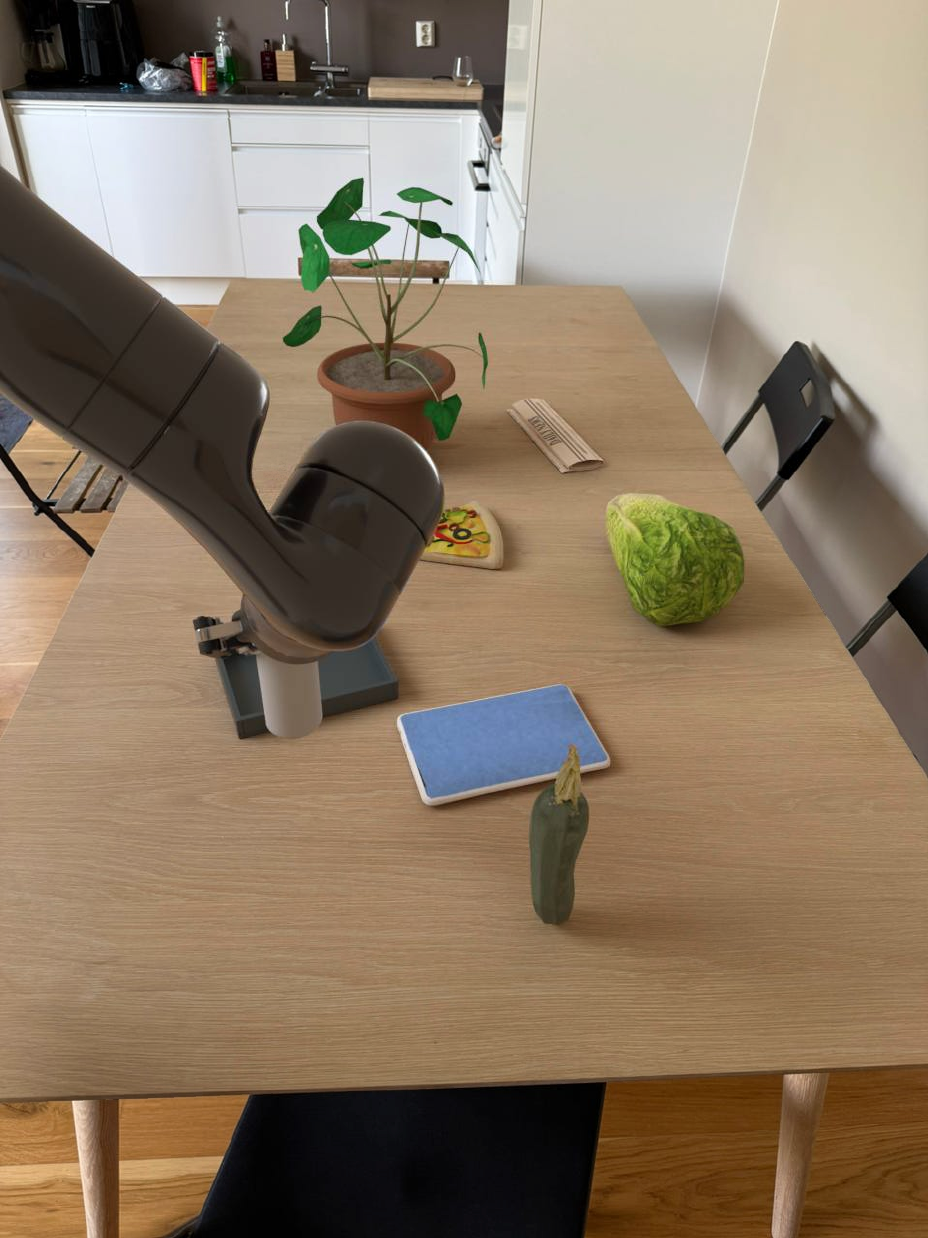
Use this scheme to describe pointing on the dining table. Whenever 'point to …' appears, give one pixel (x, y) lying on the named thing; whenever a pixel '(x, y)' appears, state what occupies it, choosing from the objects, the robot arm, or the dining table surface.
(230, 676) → the serving tray
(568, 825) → the vegetable
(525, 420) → the newspaper
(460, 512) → the pizza slice
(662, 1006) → the dining table surface
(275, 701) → the beverage can
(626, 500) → the lettuce
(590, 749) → the tablet
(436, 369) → the potted plant
